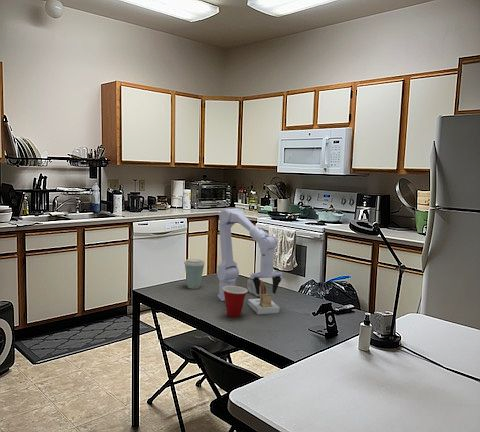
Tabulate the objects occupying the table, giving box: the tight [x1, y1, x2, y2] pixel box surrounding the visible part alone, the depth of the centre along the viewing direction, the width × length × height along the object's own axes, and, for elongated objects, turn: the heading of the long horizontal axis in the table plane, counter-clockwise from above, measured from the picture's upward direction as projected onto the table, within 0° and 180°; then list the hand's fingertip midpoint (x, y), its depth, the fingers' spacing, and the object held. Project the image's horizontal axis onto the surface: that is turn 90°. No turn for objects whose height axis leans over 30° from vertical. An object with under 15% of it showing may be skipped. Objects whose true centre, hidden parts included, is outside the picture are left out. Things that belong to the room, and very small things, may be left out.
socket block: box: [247, 298, 280, 315], centre depth 199 cm, size 14×10×2 cm
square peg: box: [259, 293, 272, 307], centre depth 196 cm, size 4×4×7 cm
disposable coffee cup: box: [184, 258, 205, 290], centre depth 230 cm, size 11×11×15 cm
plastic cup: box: [223, 285, 249, 319], centre depth 188 cm, size 11×11×12 cm
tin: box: [246, 277, 267, 298], centre depth 220 cm, size 15×3×8 cm, turn 30°
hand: (266, 293), depth 196 cm, fingers open, 7 cm apart
